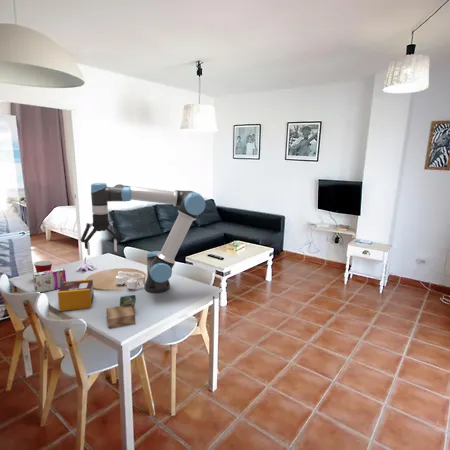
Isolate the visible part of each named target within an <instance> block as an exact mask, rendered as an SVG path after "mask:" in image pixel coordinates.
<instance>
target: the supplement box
mask: <svg viewBox="0 0 450 450" xmlns="http://www.w3.org/2000/svg"><path fill="white" fill-rule="evenodd" d="M94 296H95V294H94V279H92V278H91V279H79V280H77V279H76V280H69V281H68V280H66V281H65V282H63V284H62V286H61V288H60V289H58V291H57V298H58V310H59V312H61V311H62V312H63V311H74V310H82V309H83V310H84V309H91V308H92V305H93V302H94Z"/></svg>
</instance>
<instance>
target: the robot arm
mask: <svg viewBox="0 0 450 450" xmlns="http://www.w3.org/2000/svg"><path fill="white" fill-rule="evenodd" d="M90 195H91V197H90V198H91V211H92V212H91V213H92V223H89V222H87V223H86V224H85V229H84V231H83V234H82V235H81V238H80V242H81V243H84V249H85V250H87V252H86V253H87V256H90V255H91V250H90V249H91V248H90V242H89V241H90V240H91V239H92V237H94V235H95V234H96V233H97V232H104V231H107V232H109V234H111V236H112V237H114V239H113V248H114V249H113V250H114V252H116V253H117V252H118V246H119V243H120V242H119V239H122V238H123V236H122V234H121V232H120V231H119V229H118V228H117V226H116V222H115V221H114V220H112V221H109V214H108V213H109V208H108V207H109V206H108V203H109V202H124V203H125V202H131V201H138V202H139V201H140V202H141V201H142V202H147V203H148V202H150V203H157V204H165V205H173V207H177V208H178V209H177V212H178V215H177V217H176V220H175V221H174V223H173V225H172V228H171V230H170V232H169V233H168V236H167V238H166V240H165V242H164V244H163V246H162V248H161V250H155V251H154V250H153V251H150V252H149V251H148V252H147V254H146V270H147V277H146V279H145V288H144V290H145V291H146V292H147V293H148V292H149V293H151V294H159V293H164V292H167V291H168V290H169V289H170V287H171V285H170V284H171V283H170V278H171V277H172V274H173V268H174V266H175V263H176V261H175V258H176V256H177V254H178V252H179V250H180V247H181V246H182V244H183V241H184V240H185V238H186V235H187V233H188V232H189V229H190V227H191V225H192V224H193V221H196V220H197V219H198V217H199V215H200V214H202V213H203V212H204V211H205V208H206V200H205V198H204V197H203V196H202V194H200V193H198V192H196V191H193V190H176V189H175V190H174V191H172V190H171V191H170V190H166V189H165V190H162V189H157V188H155V189H154V188H147V187H141V186H139V187H138V186H133V185H130V186H129V185H123V184H120V183H118V184H115V185H114V186H108V185H107V183H106V182H93V183H92V184H90ZM109 226H111V227H112V228H113V230H114V232H115V233H116V234H117V235H116V234H115V233H114V232H113V231H112V230H111V229H110V228H109ZM92 227H93V228H92ZM91 228H92V230H91V231H90V229H91ZM89 231H90V233H89ZM88 233H89V234H88Z"/></svg>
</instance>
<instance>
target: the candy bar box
mask: <svg viewBox="0 0 450 450" xmlns="http://www.w3.org/2000/svg"><path fill="white" fill-rule="evenodd" d="M66 277H67V276H66V270H65V268H64V267H62V268H57V269H51V270H50V271H44V272H39V273H37V272H34V273H32V278H33V287H34V292H35V293H36V292H41V293H45V292H50V291H55V290H60V288H61V286H62V284H63V282H65V281H67V278H66Z"/></svg>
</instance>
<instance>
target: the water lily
mask: <svg viewBox="0 0 450 450" xmlns="http://www.w3.org/2000/svg"><path fill="white" fill-rule="evenodd" d="M86 259H87V257H85V258H84V263H81V264H78V265H76V267H77V268H75V270H76V271H77V270H79V271H80V272H81V271H83V269H84V270H85V271H86V272H88V270H91V271H92V270H94V269H93V267H95V266H97V265H96V264H95V263H93V262H89V261H88V262H86Z"/></svg>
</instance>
